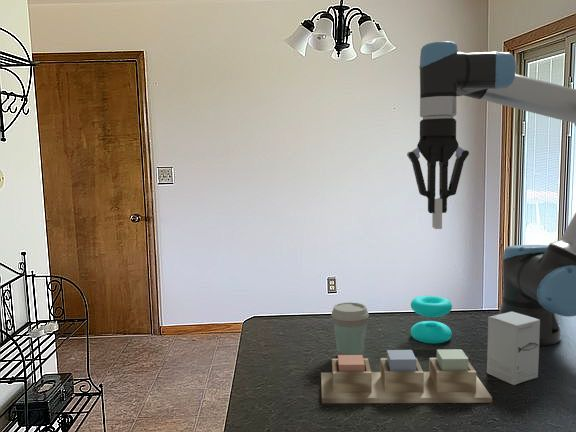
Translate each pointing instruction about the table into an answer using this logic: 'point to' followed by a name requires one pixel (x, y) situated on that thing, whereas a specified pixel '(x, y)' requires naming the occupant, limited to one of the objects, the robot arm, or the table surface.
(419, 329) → the donuts
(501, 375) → the supplement box
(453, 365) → the sage button
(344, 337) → the coffee cup
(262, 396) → the table surface
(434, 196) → the robot arm
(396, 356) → the slate button
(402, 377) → the button panel
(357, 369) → the terracotta button
